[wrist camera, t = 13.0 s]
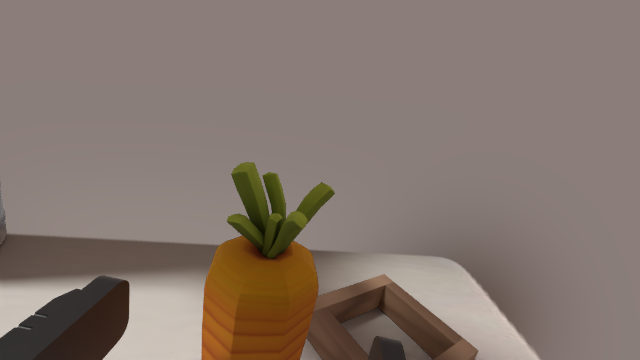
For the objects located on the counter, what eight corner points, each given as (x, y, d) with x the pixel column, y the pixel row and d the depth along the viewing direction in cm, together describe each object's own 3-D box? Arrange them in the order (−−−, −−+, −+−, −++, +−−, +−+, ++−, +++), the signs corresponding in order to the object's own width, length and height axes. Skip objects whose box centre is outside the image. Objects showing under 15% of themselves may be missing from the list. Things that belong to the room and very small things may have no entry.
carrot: (297, 406, 18) (351, 168, 13) (262, 514, 13) (329, 202, 9) (222, 376, 19) (251, 144, 14) (165, 467, 14) (183, 163, 10)
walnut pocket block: (385, 446, 17) (398, 416, 16) (298, 326, 24) (304, 300, 23) (466, 375, 23) (478, 350, 22) (377, 295, 29) (384, 274, 29)
